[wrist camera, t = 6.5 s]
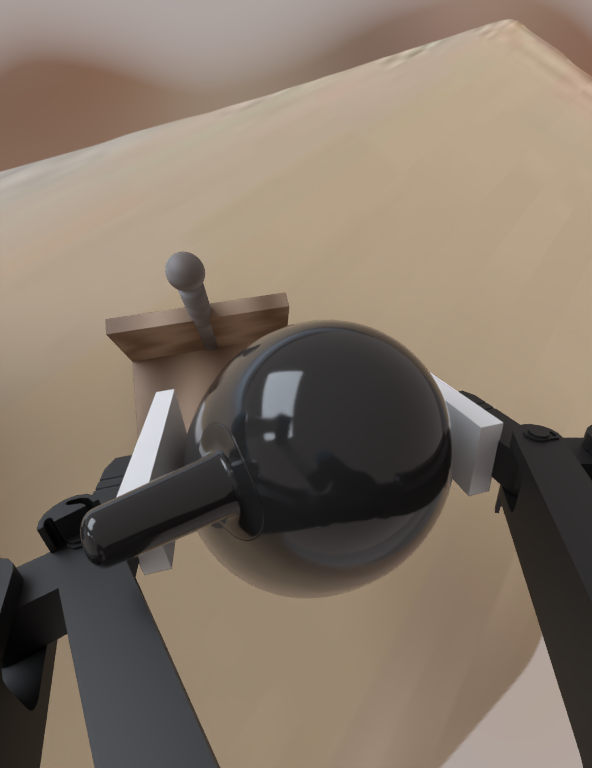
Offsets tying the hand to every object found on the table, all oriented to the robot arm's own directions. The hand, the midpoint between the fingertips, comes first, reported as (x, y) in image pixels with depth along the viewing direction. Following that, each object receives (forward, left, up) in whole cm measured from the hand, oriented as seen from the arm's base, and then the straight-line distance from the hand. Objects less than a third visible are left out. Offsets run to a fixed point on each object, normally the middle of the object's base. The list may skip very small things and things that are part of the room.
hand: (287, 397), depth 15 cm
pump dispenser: (0, -3, -6) cm, 7 cm away
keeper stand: (-5, +7, -19) cm, 20 cm away
